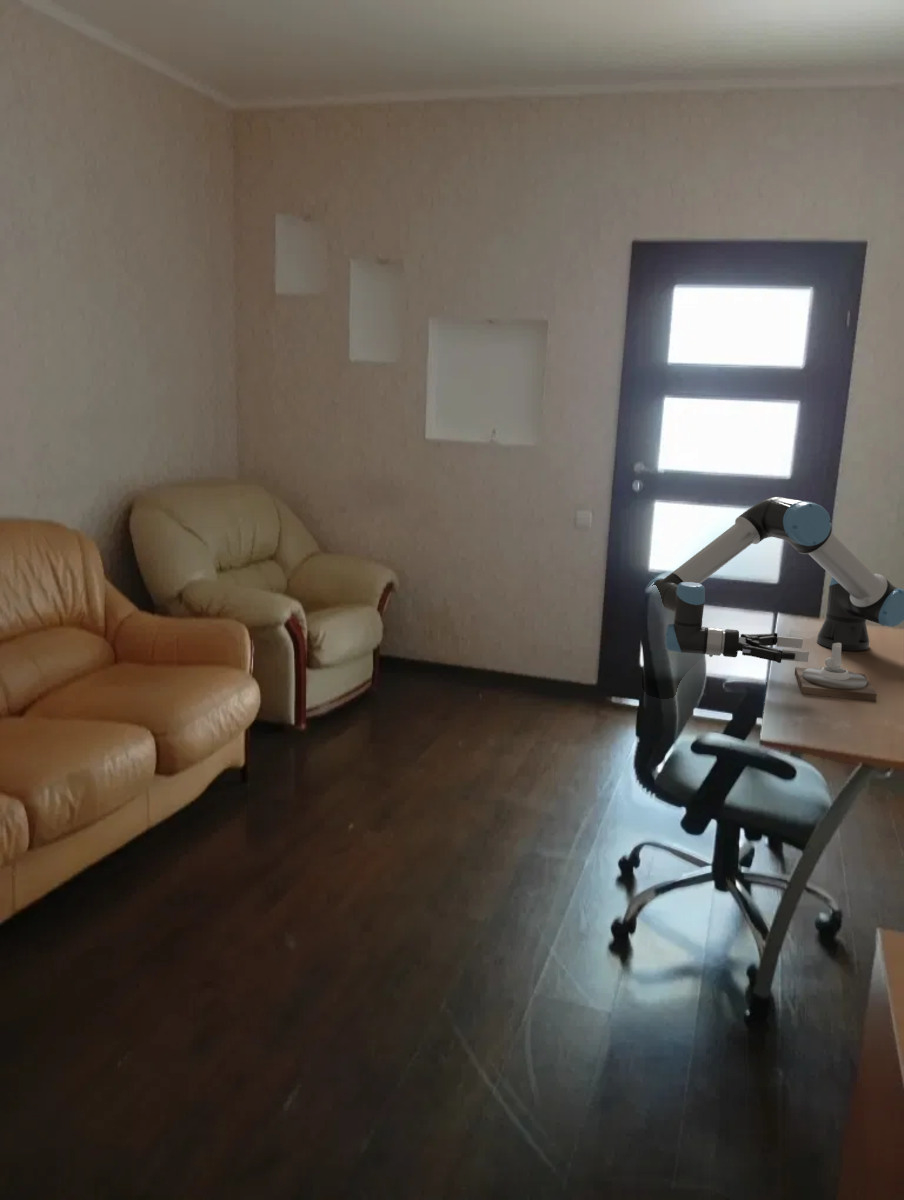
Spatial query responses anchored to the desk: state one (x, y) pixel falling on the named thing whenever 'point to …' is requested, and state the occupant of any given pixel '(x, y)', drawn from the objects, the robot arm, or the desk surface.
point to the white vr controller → (834, 665)
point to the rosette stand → (834, 685)
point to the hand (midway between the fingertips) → (805, 650)
